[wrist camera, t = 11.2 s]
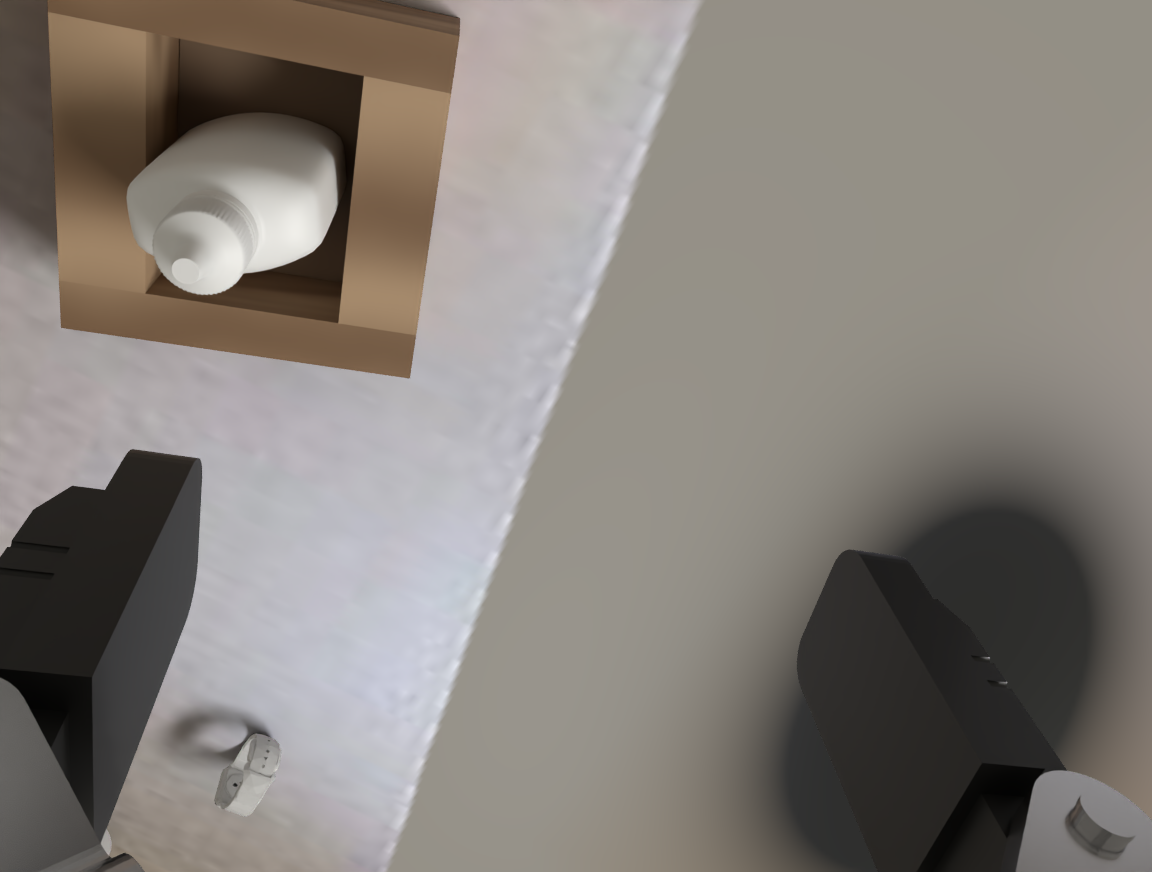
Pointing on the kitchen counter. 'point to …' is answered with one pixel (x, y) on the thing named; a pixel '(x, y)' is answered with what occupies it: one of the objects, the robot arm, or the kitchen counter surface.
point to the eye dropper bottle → (237, 198)
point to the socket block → (247, 85)
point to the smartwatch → (248, 775)
